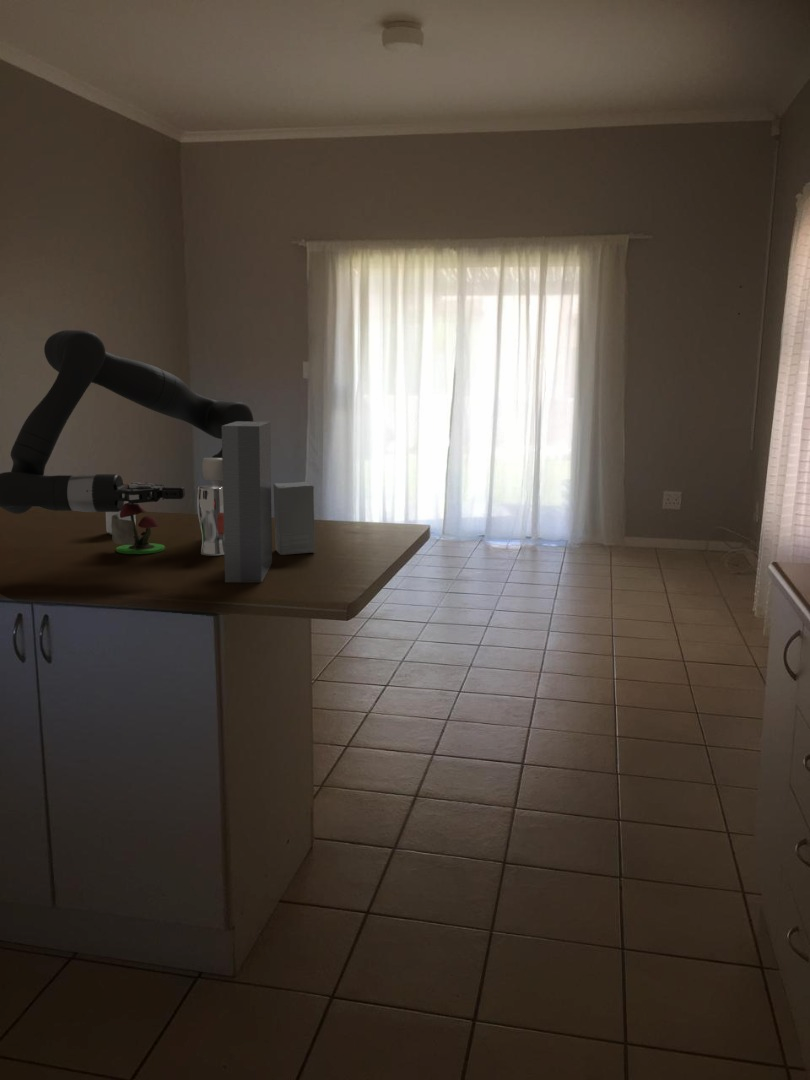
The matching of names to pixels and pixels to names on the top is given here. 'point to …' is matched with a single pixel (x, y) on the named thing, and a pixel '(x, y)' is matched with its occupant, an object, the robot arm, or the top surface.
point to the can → (109, 519)
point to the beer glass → (210, 519)
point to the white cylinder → (212, 469)
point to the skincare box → (294, 518)
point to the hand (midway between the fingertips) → (183, 492)
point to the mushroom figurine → (133, 531)
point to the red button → (220, 523)
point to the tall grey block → (247, 500)
